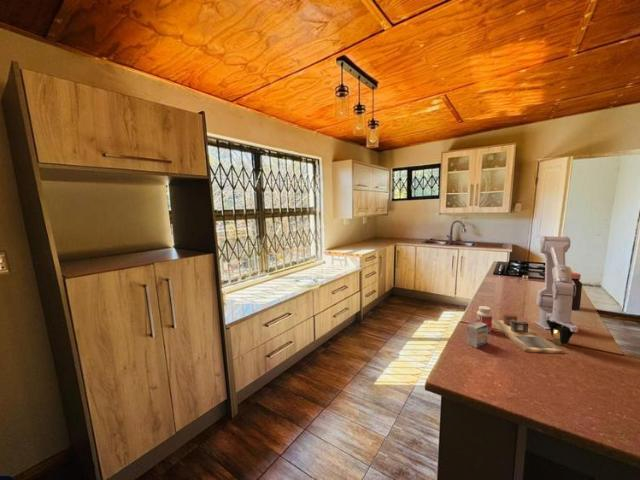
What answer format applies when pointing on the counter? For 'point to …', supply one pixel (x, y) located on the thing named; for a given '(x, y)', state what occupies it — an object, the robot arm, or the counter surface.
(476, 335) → the medicine box
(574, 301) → the vinegar
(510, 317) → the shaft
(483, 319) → the pill bottle
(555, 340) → the cylinder
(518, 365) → the counter surface
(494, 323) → the clamp jig
